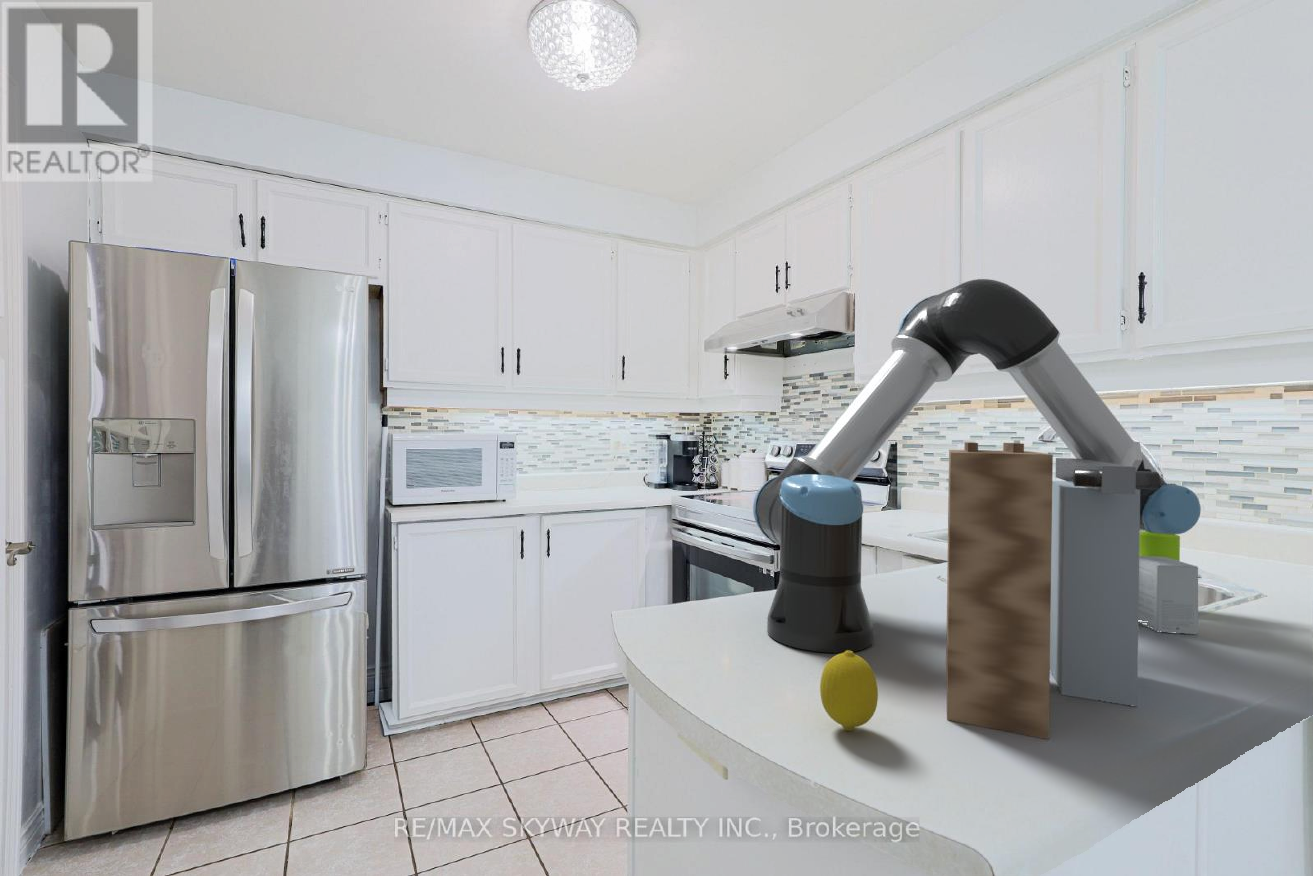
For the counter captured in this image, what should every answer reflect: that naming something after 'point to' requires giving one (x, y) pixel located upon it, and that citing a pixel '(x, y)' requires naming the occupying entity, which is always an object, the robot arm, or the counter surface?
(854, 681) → the lemon
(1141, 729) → the counter surface
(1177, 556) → the soap dispenser
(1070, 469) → the dark grey bar
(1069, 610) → the block
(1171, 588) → the small box
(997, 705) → the walnut stand
